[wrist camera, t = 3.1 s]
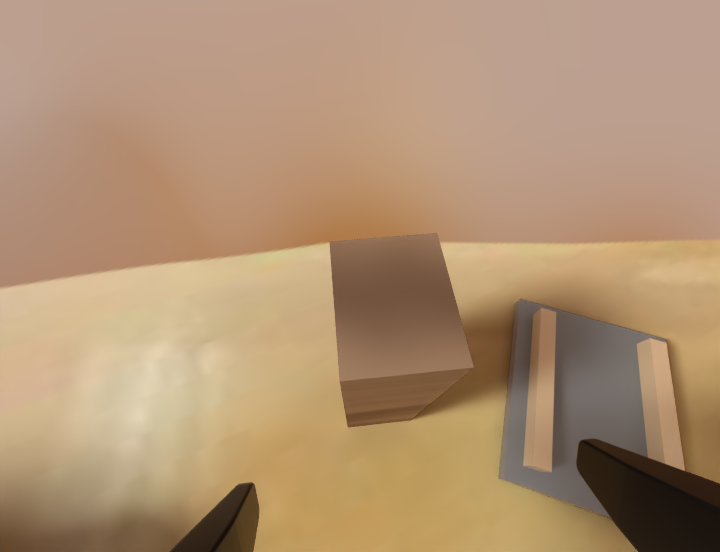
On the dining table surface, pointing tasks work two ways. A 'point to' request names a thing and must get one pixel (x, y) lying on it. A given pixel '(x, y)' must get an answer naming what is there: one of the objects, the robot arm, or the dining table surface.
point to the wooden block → (395, 327)
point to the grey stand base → (582, 400)
